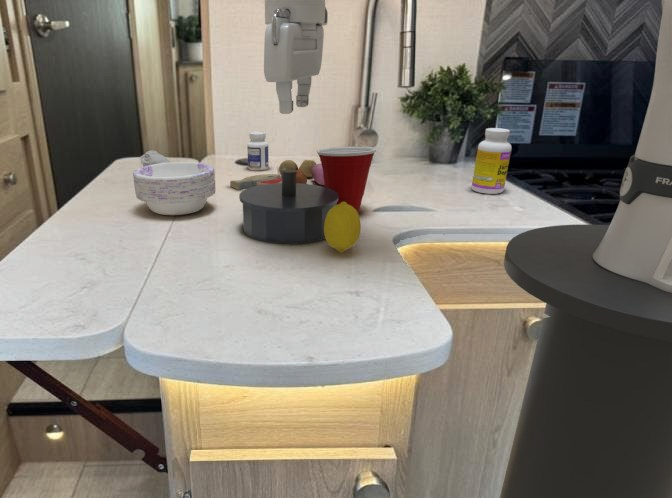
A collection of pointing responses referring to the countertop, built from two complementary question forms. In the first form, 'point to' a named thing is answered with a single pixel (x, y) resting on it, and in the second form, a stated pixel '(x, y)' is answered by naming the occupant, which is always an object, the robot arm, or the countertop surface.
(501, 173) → the supplement bottle
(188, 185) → the paper bowls
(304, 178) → the toy food set
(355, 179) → the plastic cup
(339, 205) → the lemon
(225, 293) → the countertop surface
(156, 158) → the frog figurine
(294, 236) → the pot
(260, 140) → the pill bottle
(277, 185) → the lid
